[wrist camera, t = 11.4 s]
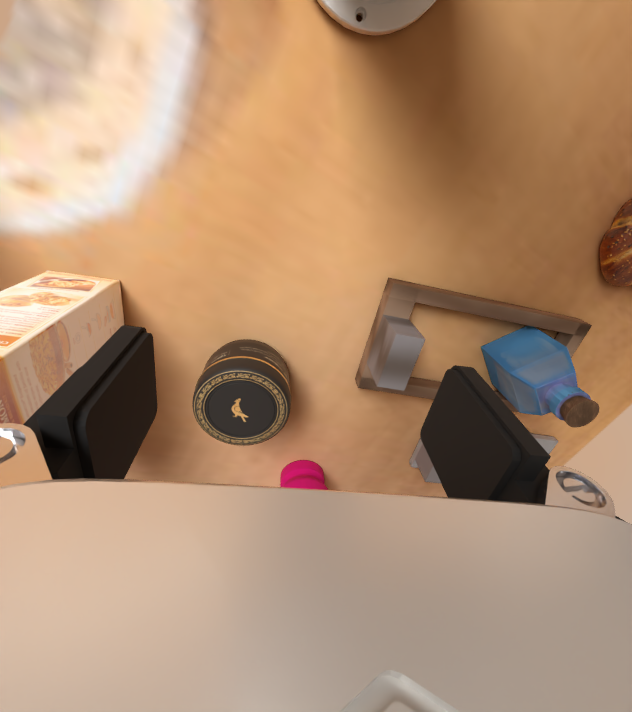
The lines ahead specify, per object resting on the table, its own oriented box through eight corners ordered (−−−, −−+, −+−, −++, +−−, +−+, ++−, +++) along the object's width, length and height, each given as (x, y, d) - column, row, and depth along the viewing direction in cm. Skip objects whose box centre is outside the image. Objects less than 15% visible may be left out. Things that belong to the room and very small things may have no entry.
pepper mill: (302, 448, 48) (313, 609, 30) (336, 473, 51) (364, 634, 33) (266, 476, 50) (257, 643, 32) (301, 499, 53) (310, 663, 35)
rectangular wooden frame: (388, 277, 37) (409, 299, 31) (578, 318, 41) (630, 344, 35) (355, 378, 43) (366, 413, 37) (525, 405, 47) (561, 440, 41)
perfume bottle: (538, 363, 44) (617, 423, 34) (491, 383, 45) (554, 448, 35) (530, 324, 41) (613, 376, 31) (480, 346, 42) (545, 405, 32)
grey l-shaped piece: (429, 419, 47) (444, 444, 43) (553, 436, 51) (579, 462, 46) (409, 461, 51) (420, 489, 46) (526, 475, 54) (547, 502, 50)
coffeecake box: (45, 268, 34) (-197, 368, 17) (122, 278, 35) (-32, 381, 18) (70, 393, 41) (-84, 554, 24) (134, 399, 42) (30, 556, 25)
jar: (243, 418, 45) (236, 462, 38) (187, 364, 40) (168, 403, 34) (306, 378, 43) (310, 417, 36) (254, 317, 38) (247, 348, 32)
